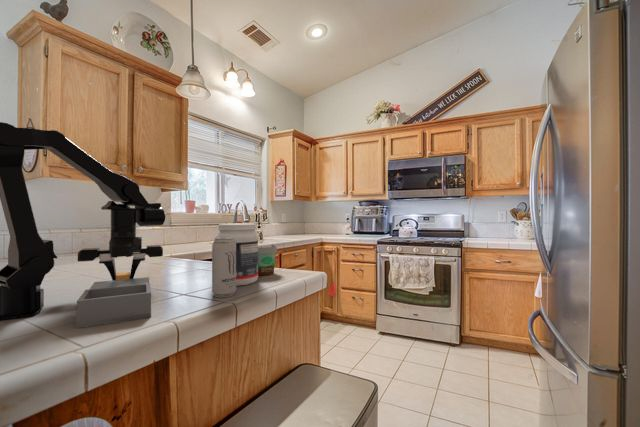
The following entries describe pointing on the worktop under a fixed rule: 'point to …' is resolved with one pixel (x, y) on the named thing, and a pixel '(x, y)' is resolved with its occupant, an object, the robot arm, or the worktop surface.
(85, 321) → the parts tub
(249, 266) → the supplement tub
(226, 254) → the energy drink can
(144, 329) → the worktop surface
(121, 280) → the lid
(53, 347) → the worktop surface
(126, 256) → the robot arm
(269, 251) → the food container
